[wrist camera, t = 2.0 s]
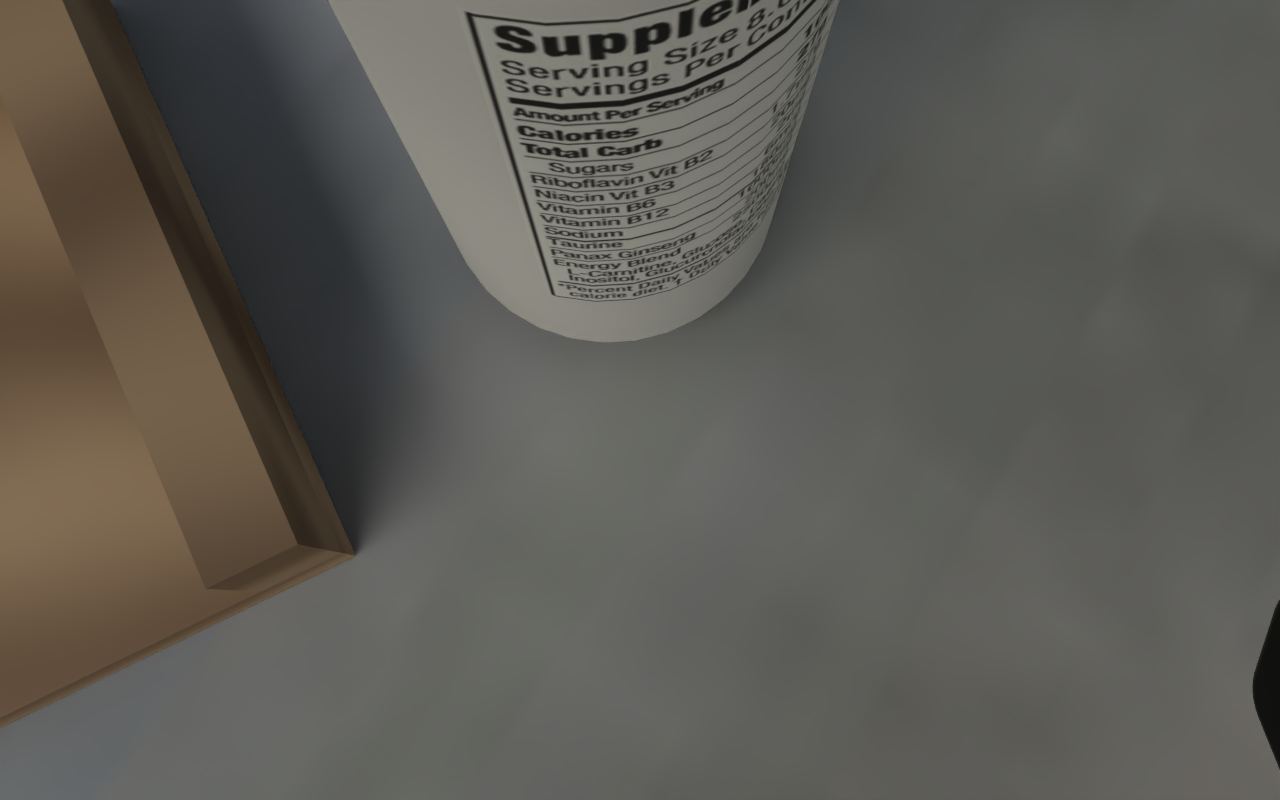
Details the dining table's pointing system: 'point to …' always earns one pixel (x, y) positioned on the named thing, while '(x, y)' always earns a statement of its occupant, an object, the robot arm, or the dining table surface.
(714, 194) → the energy drink can
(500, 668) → the dining table surface
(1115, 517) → the dining table surface
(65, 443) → the wooden tray
